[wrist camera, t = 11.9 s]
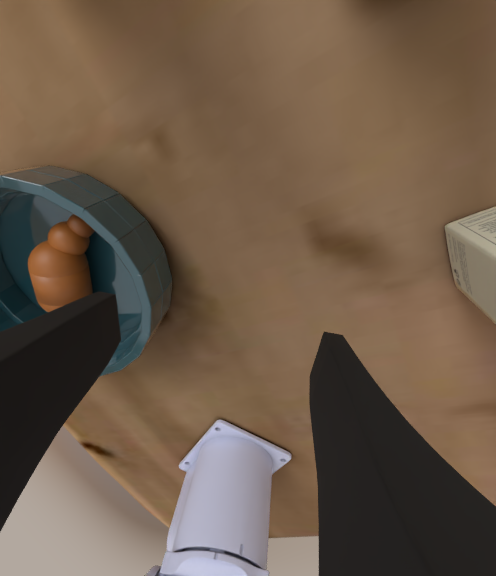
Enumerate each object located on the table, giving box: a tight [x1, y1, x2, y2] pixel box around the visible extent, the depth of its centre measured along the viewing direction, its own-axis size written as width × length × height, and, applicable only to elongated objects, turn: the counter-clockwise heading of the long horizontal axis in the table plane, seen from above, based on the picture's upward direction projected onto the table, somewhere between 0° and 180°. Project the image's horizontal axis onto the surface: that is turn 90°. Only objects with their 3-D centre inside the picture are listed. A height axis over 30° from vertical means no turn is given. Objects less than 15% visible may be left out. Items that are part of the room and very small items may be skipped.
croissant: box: [28, 214, 94, 312], centre depth 19 cm, size 4×8×3 cm, turn 173°
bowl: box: [0, 166, 172, 376], centre depth 19 cm, size 13×13×4 cm
